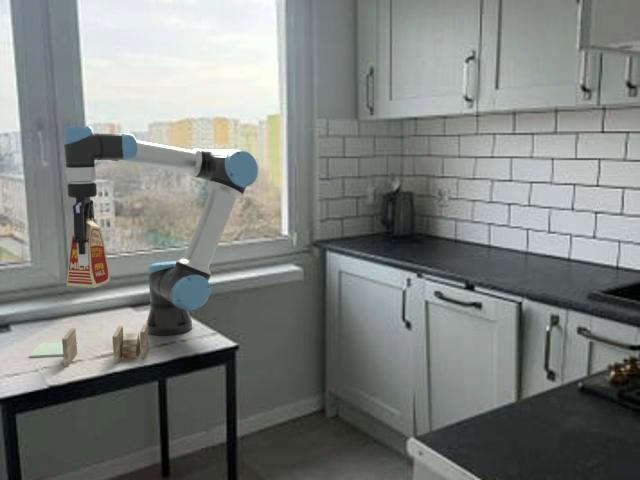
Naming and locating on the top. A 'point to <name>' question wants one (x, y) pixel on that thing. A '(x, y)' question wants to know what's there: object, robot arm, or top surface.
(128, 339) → the offcut top
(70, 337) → the rack
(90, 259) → the milk carton
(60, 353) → the mat
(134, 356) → the block
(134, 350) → the offcut middle
